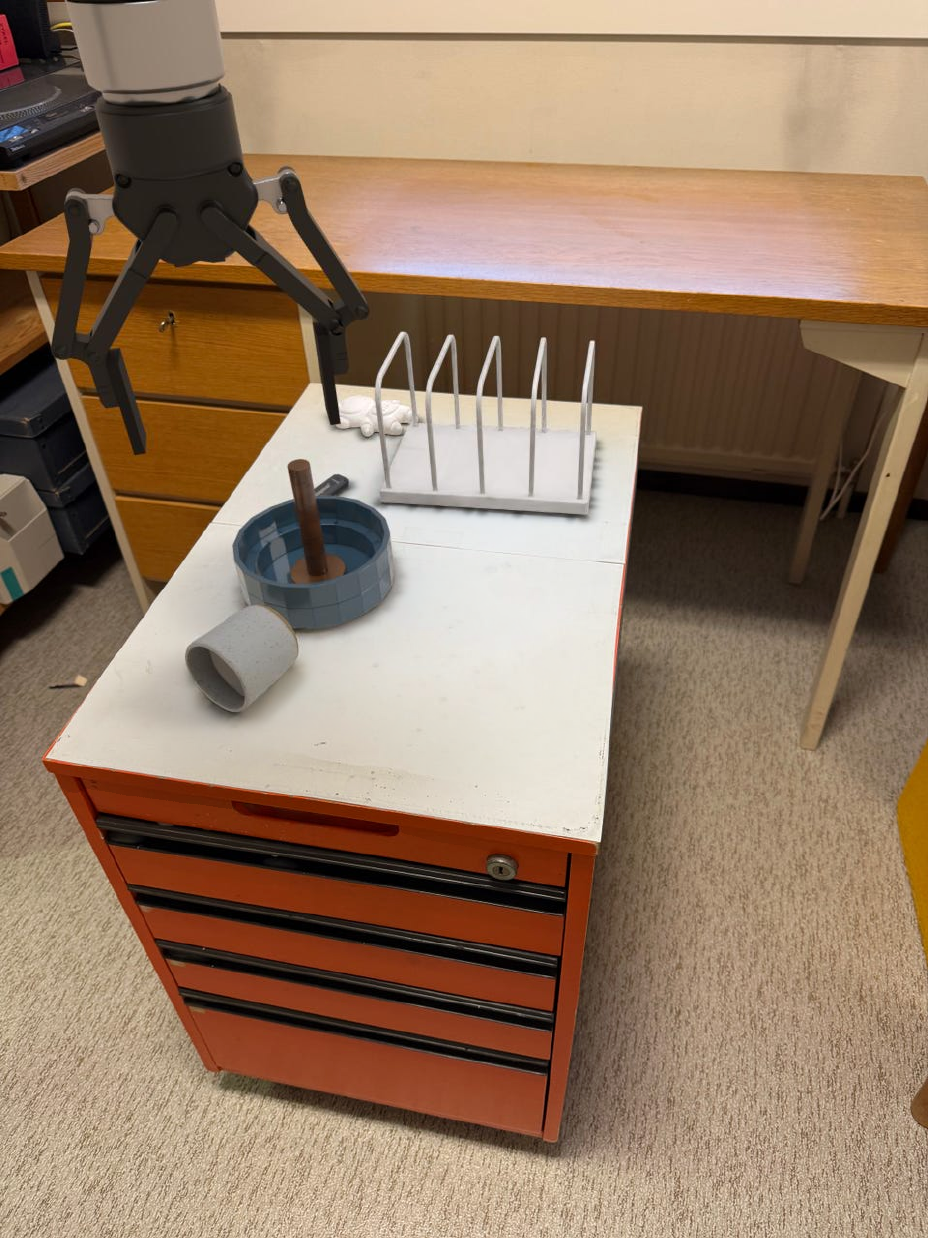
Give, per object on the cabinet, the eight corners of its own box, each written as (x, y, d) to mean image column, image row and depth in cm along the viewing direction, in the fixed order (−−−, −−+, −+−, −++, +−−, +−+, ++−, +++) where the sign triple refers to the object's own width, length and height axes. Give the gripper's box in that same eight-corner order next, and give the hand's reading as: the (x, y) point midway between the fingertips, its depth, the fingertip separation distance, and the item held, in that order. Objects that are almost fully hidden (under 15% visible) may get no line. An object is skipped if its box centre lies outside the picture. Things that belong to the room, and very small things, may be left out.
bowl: (249, 646, 88) (237, 600, 84) (239, 553, 100) (228, 509, 96) (407, 616, 91) (402, 570, 87) (379, 529, 103) (374, 485, 99)
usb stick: (302, 524, 104) (300, 513, 103) (285, 518, 105) (283, 507, 104) (352, 486, 110) (350, 476, 109) (335, 481, 111) (334, 470, 110)
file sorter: (596, 443, 116) (604, 328, 106) (587, 518, 103) (596, 396, 93) (410, 433, 120) (401, 321, 109) (379, 504, 107) (366, 385, 97)
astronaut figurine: (388, 445, 117) (386, 424, 115) (320, 423, 123) (317, 403, 121) (427, 417, 123) (425, 397, 121) (360, 397, 128) (358, 378, 126)
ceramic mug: (310, 669, 85) (297, 608, 80) (254, 724, 80) (236, 663, 75) (229, 635, 90) (211, 576, 85) (170, 685, 85) (148, 625, 80)
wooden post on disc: (294, 600, 93) (270, 485, 83) (288, 567, 97) (265, 454, 88) (350, 590, 94) (333, 475, 84) (342, 557, 98) (325, 444, 89)
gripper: (370, 58, 54) (399, 382, 68) (-66, 95, 50) (60, 431, 64) (394, 80, 48) (420, 428, 62) (-95, 124, 44) (50, 485, 58)
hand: (238, 430), depth 63 cm, fingers open, 13 cm apart
